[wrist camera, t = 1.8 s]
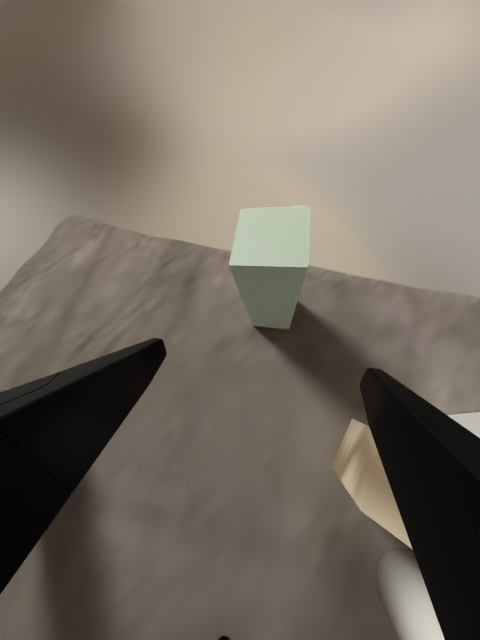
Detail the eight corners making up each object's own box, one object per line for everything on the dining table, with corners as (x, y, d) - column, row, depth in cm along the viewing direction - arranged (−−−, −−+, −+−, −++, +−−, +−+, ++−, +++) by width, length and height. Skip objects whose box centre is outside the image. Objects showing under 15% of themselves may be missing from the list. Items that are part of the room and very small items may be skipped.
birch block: (389, 507, 15) (456, 582, 10) (331, 466, 17) (360, 510, 11) (407, 451, 16) (479, 490, 10) (351, 418, 18) (387, 436, 12)
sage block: (288, 329, 22) (308, 267, 10) (252, 325, 23) (228, 265, 11) (291, 296, 23) (311, 205, 11) (257, 294, 24) (240, 208, 12)
